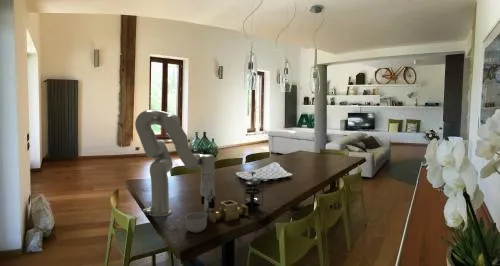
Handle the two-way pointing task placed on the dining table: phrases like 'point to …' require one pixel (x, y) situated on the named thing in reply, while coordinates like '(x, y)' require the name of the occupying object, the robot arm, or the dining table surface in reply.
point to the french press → (252, 205)
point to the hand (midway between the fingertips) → (207, 206)
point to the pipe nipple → (206, 205)
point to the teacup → (196, 221)
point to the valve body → (228, 211)
